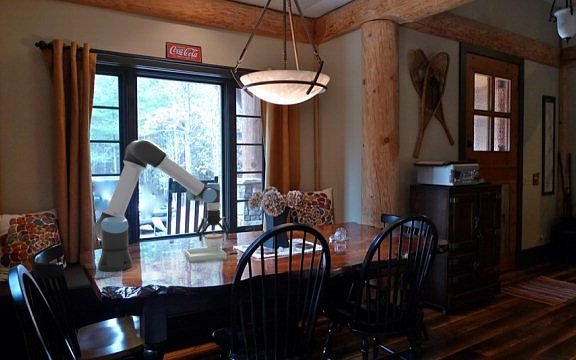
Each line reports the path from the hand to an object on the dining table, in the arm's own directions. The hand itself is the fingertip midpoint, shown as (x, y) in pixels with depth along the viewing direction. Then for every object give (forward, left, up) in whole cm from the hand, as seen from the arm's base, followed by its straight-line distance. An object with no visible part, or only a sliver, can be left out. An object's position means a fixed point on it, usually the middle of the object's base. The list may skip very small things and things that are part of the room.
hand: (213, 245), depth 240 cm
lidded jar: (0, 0, -2) cm, 2 cm away
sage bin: (-9, -20, -2) cm, 22 cm away
